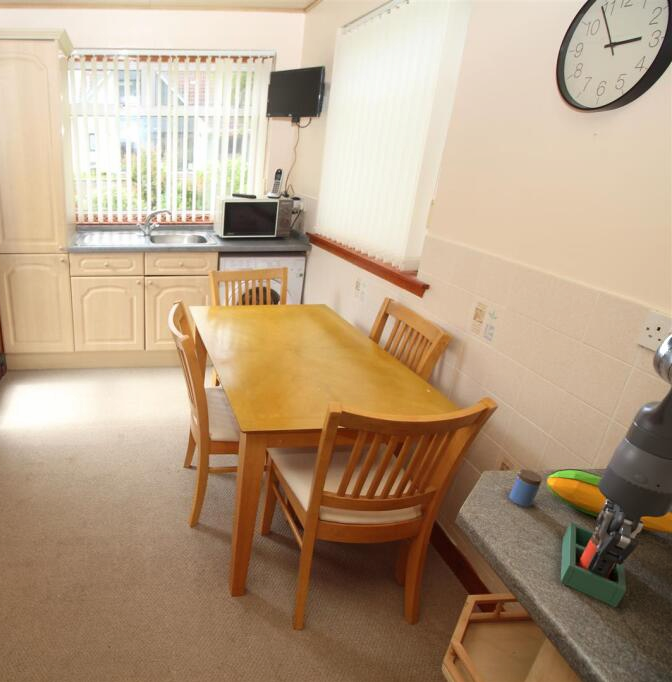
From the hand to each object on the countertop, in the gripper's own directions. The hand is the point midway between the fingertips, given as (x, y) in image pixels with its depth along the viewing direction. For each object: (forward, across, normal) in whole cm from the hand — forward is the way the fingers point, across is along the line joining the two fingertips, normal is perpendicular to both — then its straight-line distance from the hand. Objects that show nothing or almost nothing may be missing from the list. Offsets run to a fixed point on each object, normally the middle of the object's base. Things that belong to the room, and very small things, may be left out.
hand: (596, 563), depth 73 cm
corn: (+4, +22, -3) cm, 22 cm away
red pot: (+1, 0, 0) cm, 1 cm away
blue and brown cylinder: (+4, +16, +10) cm, 19 cm away
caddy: (+4, +3, 0) cm, 5 cm away
